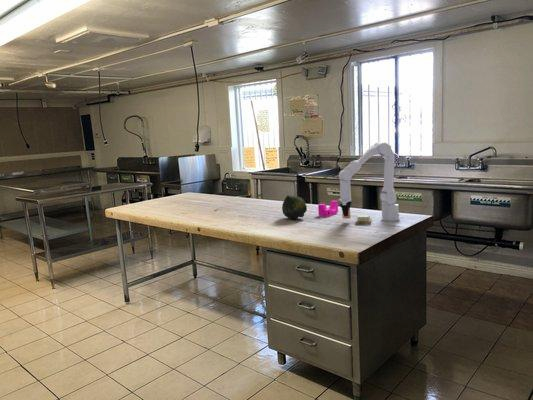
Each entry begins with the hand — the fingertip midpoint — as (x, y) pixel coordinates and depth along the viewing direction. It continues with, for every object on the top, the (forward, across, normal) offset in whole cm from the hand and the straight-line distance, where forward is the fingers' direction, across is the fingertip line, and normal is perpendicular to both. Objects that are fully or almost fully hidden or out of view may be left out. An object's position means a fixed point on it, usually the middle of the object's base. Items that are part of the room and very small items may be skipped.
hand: (346, 215), depth 236 cm
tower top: (+3, 0, +10) cm, 10 cm away
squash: (+4, -9, -33) cm, 34 cm away
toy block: (+5, -22, -13) cm, 26 cm away
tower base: (+5, 0, +9) cm, 11 cm away
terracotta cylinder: (+1, 0, 0) cm, 1 cm away
